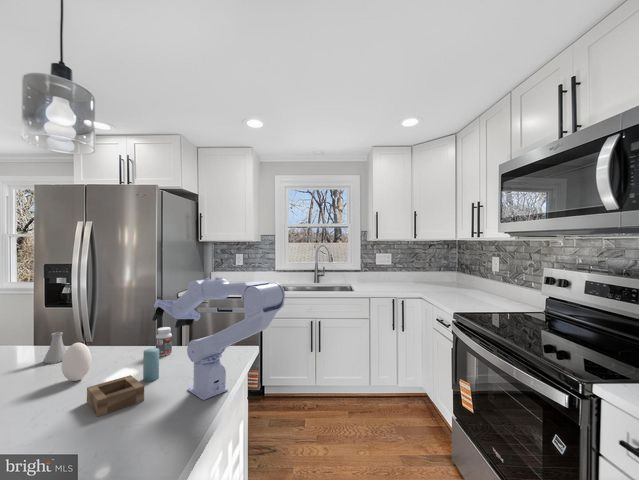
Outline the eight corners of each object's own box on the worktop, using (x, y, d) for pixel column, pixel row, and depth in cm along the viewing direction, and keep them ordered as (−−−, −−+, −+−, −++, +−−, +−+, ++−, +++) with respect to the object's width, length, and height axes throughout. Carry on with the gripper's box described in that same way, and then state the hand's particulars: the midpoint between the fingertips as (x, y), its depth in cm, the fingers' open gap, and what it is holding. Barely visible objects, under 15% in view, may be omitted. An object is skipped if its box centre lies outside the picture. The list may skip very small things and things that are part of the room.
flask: (38, 362, 111) (38, 335, 111) (60, 356, 117) (60, 329, 118) (52, 365, 108) (52, 336, 109) (74, 358, 115) (74, 331, 116)
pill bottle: (167, 356, 117) (167, 330, 118) (152, 356, 118) (152, 330, 118) (174, 351, 123) (174, 326, 123) (160, 351, 123) (160, 326, 123)
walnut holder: (144, 400, 84) (144, 386, 84) (97, 416, 76) (97, 400, 76) (130, 388, 91) (130, 375, 91) (86, 402, 83) (87, 387, 83)
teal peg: (161, 378, 98) (161, 350, 99) (146, 383, 95) (146, 353, 95) (155, 374, 101) (155, 347, 101) (140, 379, 98) (141, 350, 98)
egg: (69, 376, 99) (69, 340, 99) (95, 374, 101) (96, 338, 101) (55, 386, 92) (56, 347, 92) (84, 384, 94) (85, 345, 94)
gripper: (209, 300, 104) (188, 317, 110) (167, 284, 96) (147, 304, 102) (205, 318, 99) (184, 336, 105) (161, 303, 91) (140, 323, 97)
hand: (165, 321), depth 103 cm, fingers open, 7 cm apart
